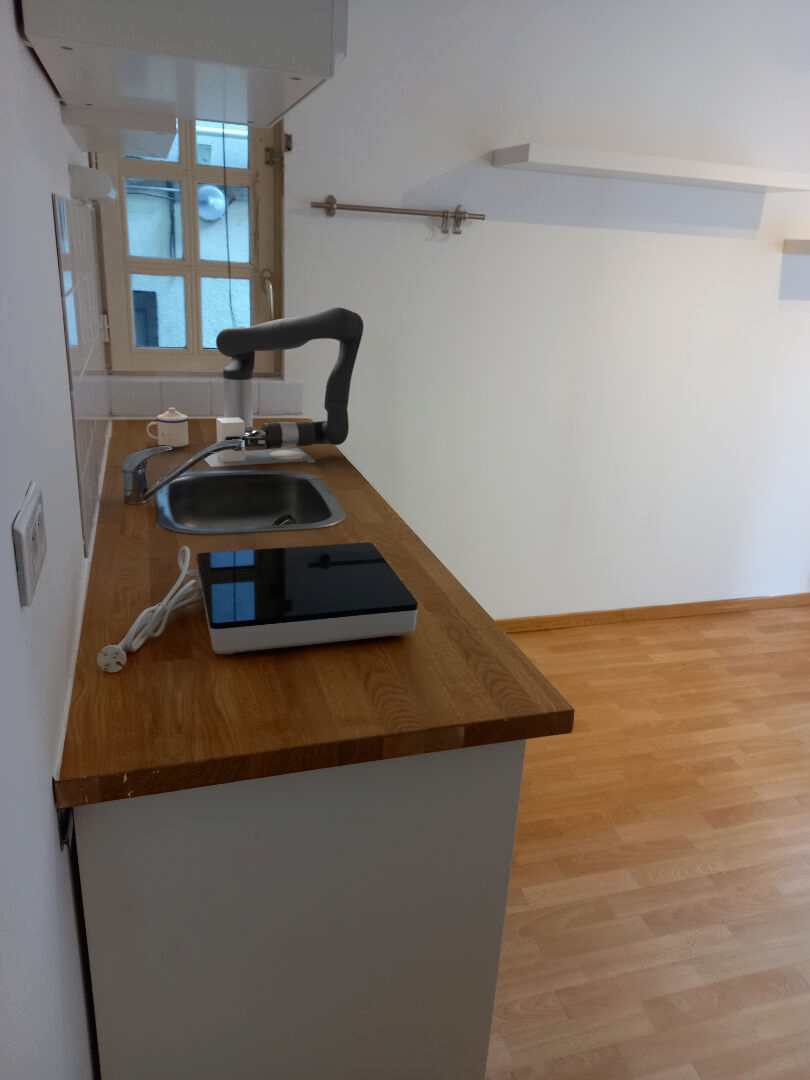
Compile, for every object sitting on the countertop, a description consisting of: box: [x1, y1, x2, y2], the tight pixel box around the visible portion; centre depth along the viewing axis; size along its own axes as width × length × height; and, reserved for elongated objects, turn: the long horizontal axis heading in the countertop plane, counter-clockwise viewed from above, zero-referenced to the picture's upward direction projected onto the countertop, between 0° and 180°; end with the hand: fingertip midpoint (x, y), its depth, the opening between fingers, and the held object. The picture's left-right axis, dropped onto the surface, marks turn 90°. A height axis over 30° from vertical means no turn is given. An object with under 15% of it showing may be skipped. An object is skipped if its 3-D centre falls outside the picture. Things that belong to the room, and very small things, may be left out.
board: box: [203, 447, 316, 468], centre depth 225 cm, size 15×30×1 cm, turn 116°
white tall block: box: [216, 417, 246, 462], centre depth 220 cm, size 6×6×11 cm
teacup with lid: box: [146, 407, 189, 448], centre depth 232 cm, size 12×9×12 cm
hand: (222, 438), depth 218 cm, fingers closed on white tall block, 6 cm apart
